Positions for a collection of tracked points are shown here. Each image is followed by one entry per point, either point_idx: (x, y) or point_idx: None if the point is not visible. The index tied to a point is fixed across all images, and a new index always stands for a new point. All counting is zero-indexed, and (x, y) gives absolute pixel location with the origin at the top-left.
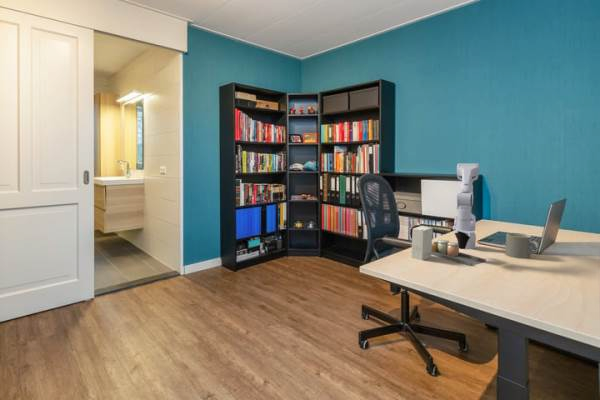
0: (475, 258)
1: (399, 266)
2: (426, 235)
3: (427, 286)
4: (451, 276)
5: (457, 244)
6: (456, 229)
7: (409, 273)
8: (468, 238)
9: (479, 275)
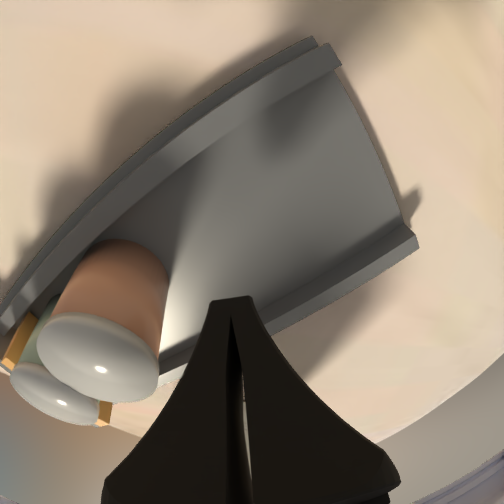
0: (243, 119)
1: None
2: None
3: (472, 380)
4: (460, 337)
5: (123, 352)
6: None
7: (390, 419)
8: (340, 428)
9: (497, 237)
